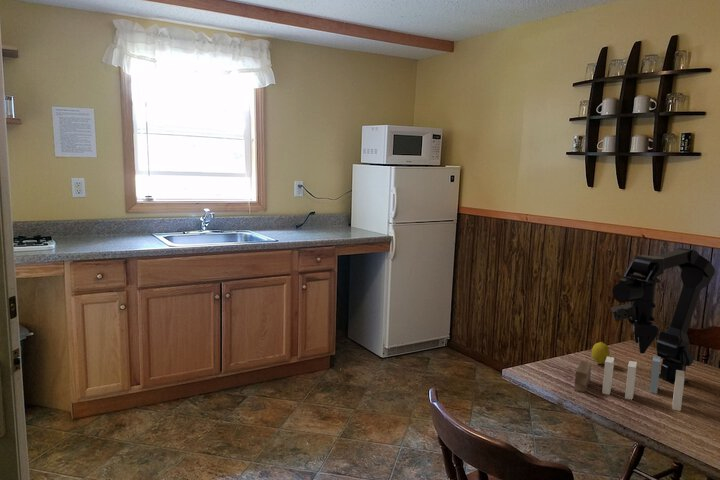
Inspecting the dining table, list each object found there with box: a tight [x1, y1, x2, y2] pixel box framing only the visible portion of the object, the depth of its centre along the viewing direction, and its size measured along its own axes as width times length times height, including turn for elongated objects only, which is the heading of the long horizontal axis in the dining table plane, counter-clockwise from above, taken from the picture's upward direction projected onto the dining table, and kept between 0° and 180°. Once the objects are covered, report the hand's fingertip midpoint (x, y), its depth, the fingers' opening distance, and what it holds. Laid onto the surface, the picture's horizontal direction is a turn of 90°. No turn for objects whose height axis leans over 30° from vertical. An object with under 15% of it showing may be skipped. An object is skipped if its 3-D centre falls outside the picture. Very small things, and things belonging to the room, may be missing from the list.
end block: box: [573, 360, 592, 393], centre depth 159 cm, size 3×10×6 cm, turn 148°
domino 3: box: [671, 370, 686, 412], centre depth 145 cm, size 2×5×10 cm, turn 148°
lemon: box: [591, 341, 611, 365], centre depth 176 cm, size 6×6×8 cm
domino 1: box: [601, 356, 615, 396], centre depth 155 cm, size 2×5×10 cm, turn 148°
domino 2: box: [624, 360, 638, 401], centre depth 152 cm, size 2×5×10 cm, turn 148°
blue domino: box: [649, 355, 662, 394], centre depth 156 cm, size 2×5×10 cm, turn 148°
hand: (639, 347), depth 156 cm, fingers open, 9 cm apart
